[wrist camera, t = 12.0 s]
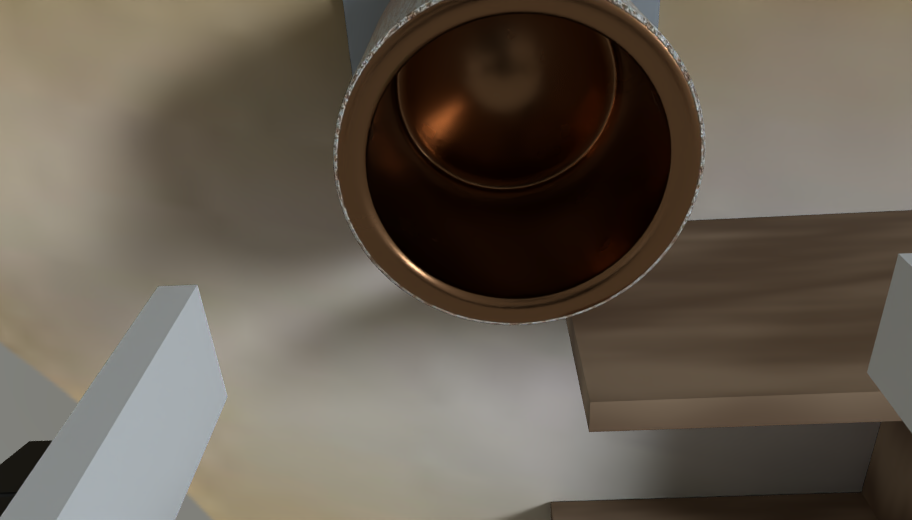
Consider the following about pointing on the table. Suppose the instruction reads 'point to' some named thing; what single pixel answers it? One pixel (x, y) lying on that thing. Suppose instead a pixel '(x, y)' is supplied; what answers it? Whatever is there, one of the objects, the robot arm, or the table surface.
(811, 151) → the table surface
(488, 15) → the planter
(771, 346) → the wooden cubby shelf
